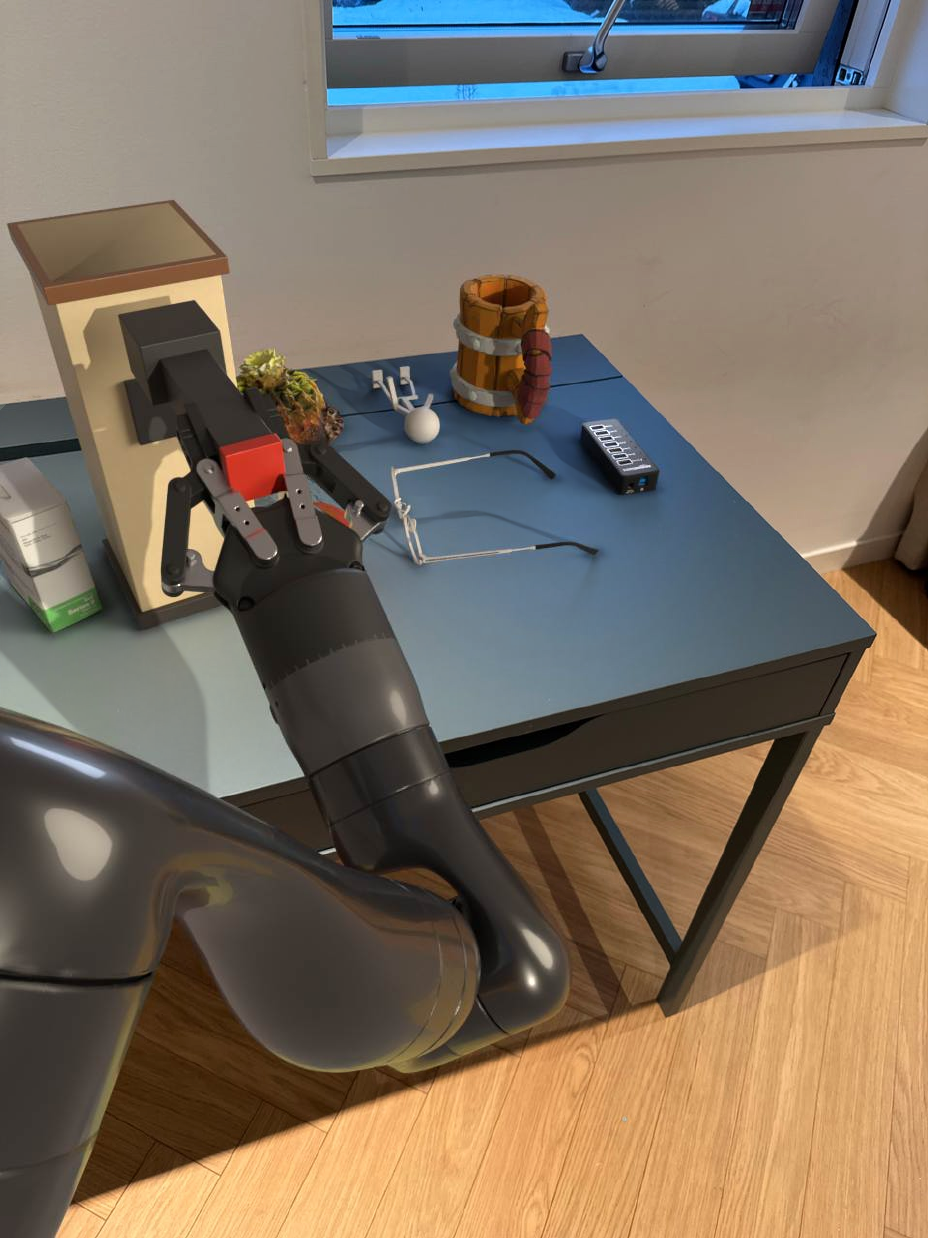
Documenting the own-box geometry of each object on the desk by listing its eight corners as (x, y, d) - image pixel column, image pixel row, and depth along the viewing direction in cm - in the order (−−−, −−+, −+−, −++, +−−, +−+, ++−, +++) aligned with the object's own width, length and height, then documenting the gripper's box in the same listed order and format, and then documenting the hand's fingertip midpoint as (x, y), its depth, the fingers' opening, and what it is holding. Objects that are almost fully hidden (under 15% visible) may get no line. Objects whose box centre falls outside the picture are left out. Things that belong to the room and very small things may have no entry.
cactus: (248, 385, 108) (237, 306, 101) (369, 414, 104) (366, 335, 97) (162, 458, 96) (144, 374, 89) (295, 494, 92) (286, 410, 86)
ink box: (106, 610, 79) (71, 500, 71) (50, 636, 76) (7, 524, 68) (63, 561, 83) (26, 452, 75) (9, 583, 81) (-35, 473, 73)
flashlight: (217, 510, 49) (205, 445, 46) (131, 373, 60) (117, 313, 57) (302, 486, 51) (296, 422, 48) (205, 357, 62) (194, 298, 59)
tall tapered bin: (141, 631, 77) (43, 288, 57) (105, 551, 85) (6, 222, 64) (274, 588, 82) (228, 256, 61) (228, 516, 89) (173, 199, 69)
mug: (515, 365, 114) (525, 245, 104) (578, 431, 103) (597, 305, 93) (436, 380, 111) (439, 257, 100) (493, 449, 100) (503, 320, 90)
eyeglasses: (379, 490, 93) (378, 449, 90) (550, 470, 97) (555, 430, 94) (412, 591, 82) (412, 548, 79) (603, 564, 86) (611, 522, 83)
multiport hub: (613, 435, 103) (616, 417, 101) (657, 489, 96) (661, 471, 94) (578, 440, 102) (580, 422, 100) (619, 495, 94) (622, 477, 93)
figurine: (417, 340, 107) (458, 392, 96) (418, 389, 111) (457, 444, 100) (366, 346, 106) (401, 400, 95) (369, 395, 109) (403, 453, 98)
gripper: (469, 609, 48) (341, 337, 51) (209, 704, 42) (85, 393, 45) (433, 651, 54) (322, 409, 58) (205, 738, 49) (97, 465, 52)
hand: (218, 403), depth 52 cm, fingers closed on flashlight, 3 cm apart
